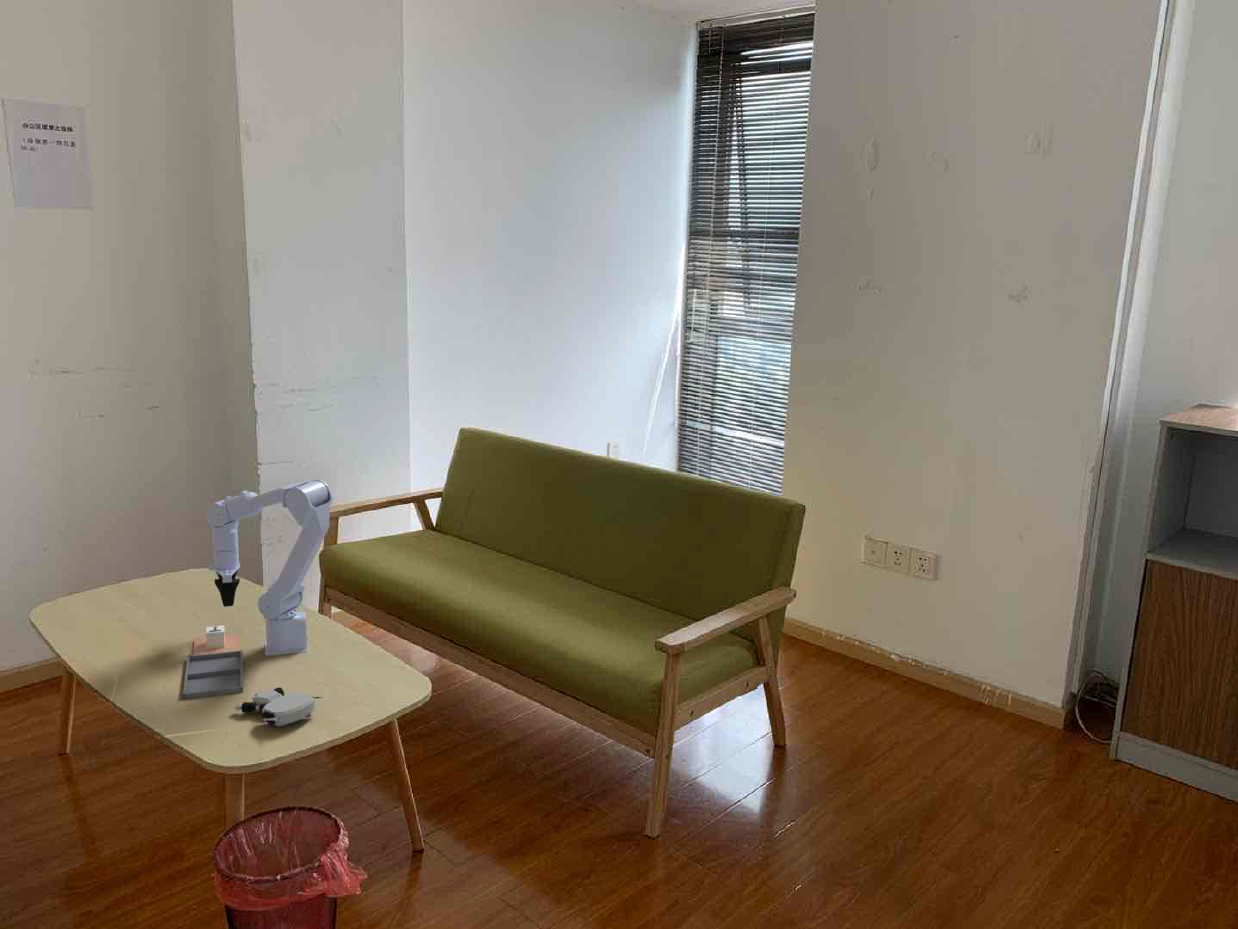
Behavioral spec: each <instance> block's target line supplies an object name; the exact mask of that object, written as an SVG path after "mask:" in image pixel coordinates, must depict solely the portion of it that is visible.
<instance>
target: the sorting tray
mask: <svg viewBox="0 0 1238 929" xmlns="http://www.w3.org/2000/svg"><path fill="white" fill-rule="evenodd" d="M182 691H183V692H182V699H183V700H188V699H196V698H198V699H199V698H204V697H212V696H221V695H230V694H240V693H243V692H244V652H243V650H238V651H231V652H221V653H211V654H201V655H193V654H192V655H187V658H186V668H185V673H184V681H183V690H182Z"/></svg>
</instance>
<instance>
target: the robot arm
mask: <svg viewBox="0 0 1238 929" xmlns="http://www.w3.org/2000/svg"><path fill="white" fill-rule="evenodd" d="M333 500H334V496H333V494H332V491H331V489H330V487H329V485H328V484H327V483H326V482H325V481H324V480H321V479H313V480H311V481H310V482H309V481H301V482H296V483H291V484H288V485H284V486H281V487H278V488H276V489H273V490H270V491H267V492H264V493H261V494H258V493H256V492H254V491H248V490H244V491H243V490H242V491H240V492H238V495H235V496H231V495H230V496H229V495H228V496H226V497H224V499H222V500H219V501H216V502H212V503H210V504H209V505H208V506H206V509H205V517H206V521H207V522H208V523H209V524H210V525H211V532H212V533H211V534H212V535H211V536H212V553H213V554H212V555H213V557H212V558H213V564H209V565H208V570H209V571H214V572H215V574H216V575H217V577H218V578H215V579H214V585H215V586H216V588H217V590H218V592H219V595H220V598H221V603H222V605H223V607H224V608H226V607H227V608H228V607H233V606H234V603H235V598H236V592H237V588H238V586H239V584H240V581H241V580H240V578H236V576H237V573H238V572H239V570H240V568H241V563H240V555H239V552H240V551H239V534H238V533H239V532H238V528H239V526H240V521H241V520H244V519H247V518H250V517H254V516H256V515H257V516H258V515H259V514H260V513H261V512H262V509H263V508H265V507H269V506H270V507H271V506H273V505H278V504H281V505H282V508H283V509H285V508H286V509H287V510H288V511H289V513H290V514H291V516H292V517H293V519H294V520H295V521H296V523H297V524H298V525H299V527H301V528H302V529H301V531H300V533H299V535H298V537H297V540H296V541H295V544H293V547H292V548H291V551H290V554H289V555H288V558H287V560H286V561H285V563H284V566H283V568H282V570H281V572H280V574H279V576H278V578H277V579H276V580H274V582H273V583H272V584H271V585H270V586H269V587H268V588H267V591H266V592H265V593H264V594H262V595H260V597H259V598H258V601H257V606H258V611H259V612H260V614H261V615H262V616H263V619H265V636H266V638H265V639H266V641H264V654H265V656H268V657H269V656H277V655H285V654H296V653H304V652H305V653H307V651H308V648H307V647H308V646H307V642H308V633H307V621H306V620H307V619H306V612H305V611H299V606H300V605H301V604H302V603H303V599H304V595H303V594H304V591H305V588H306V585H304V583H303V582H304V579H305V577H306V576H307V573H308V571H309V569H310V567H311V565H312V563H313V561H314V560H315V557H316V555H317V553H318V551H319V549H320V547H321V545H322V543H323V541H324V540H325V537H326V536H327V534H328V531H329V528H330V517H331V516H330V511H331V510H330V509H331V505H332V503H333Z"/></svg>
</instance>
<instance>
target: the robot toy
mask: <svg viewBox="0 0 1238 929" xmlns="http://www.w3.org/2000/svg"><path fill="white" fill-rule="evenodd" d="M251 697H252V701H251V702H250V701H249V702H248V701H244V702H242V703H239V704H237V705H236V706H234V709H235V710H236V711H241V712H242V713H252V712H254V711H256V712H258V713H261V718H262V720H263V722H265V723H267V724H270V725H273V726H276V727H284V726H286V725H290V724H292V723H294V722H297V721H300V720H302V719H304V718H305V717H306V716H309V715H310V714H311V713H312V712H313V711H314V710H315V708H316V700H315V699H323V698H324V696H322V695H320V696H313V695H311V694H308V693H305V692H302V691H298V692H291V693H287V694H285V691H284V690H283V688H282V687H276V688H275V687H274V688H272V689H266V690H262V691H259V692H258V693H256V694H253V695H252V696H251Z"/></svg>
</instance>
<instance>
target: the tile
mask: <svg viewBox="0 0 1238 929" xmlns="http://www.w3.org/2000/svg"><path fill="white" fill-rule="evenodd" d="M239 635H240V634H238V633H237V634H231V635H230V634H229V635H225V647H221V648H211V649H207V644H206V637H199V638H197V637H196V638H194V644H193V652H192V655H201V654H211V653H221V652H231V651H239V647H240V646H239V642H240V640H239V638H240V637H239Z"/></svg>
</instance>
